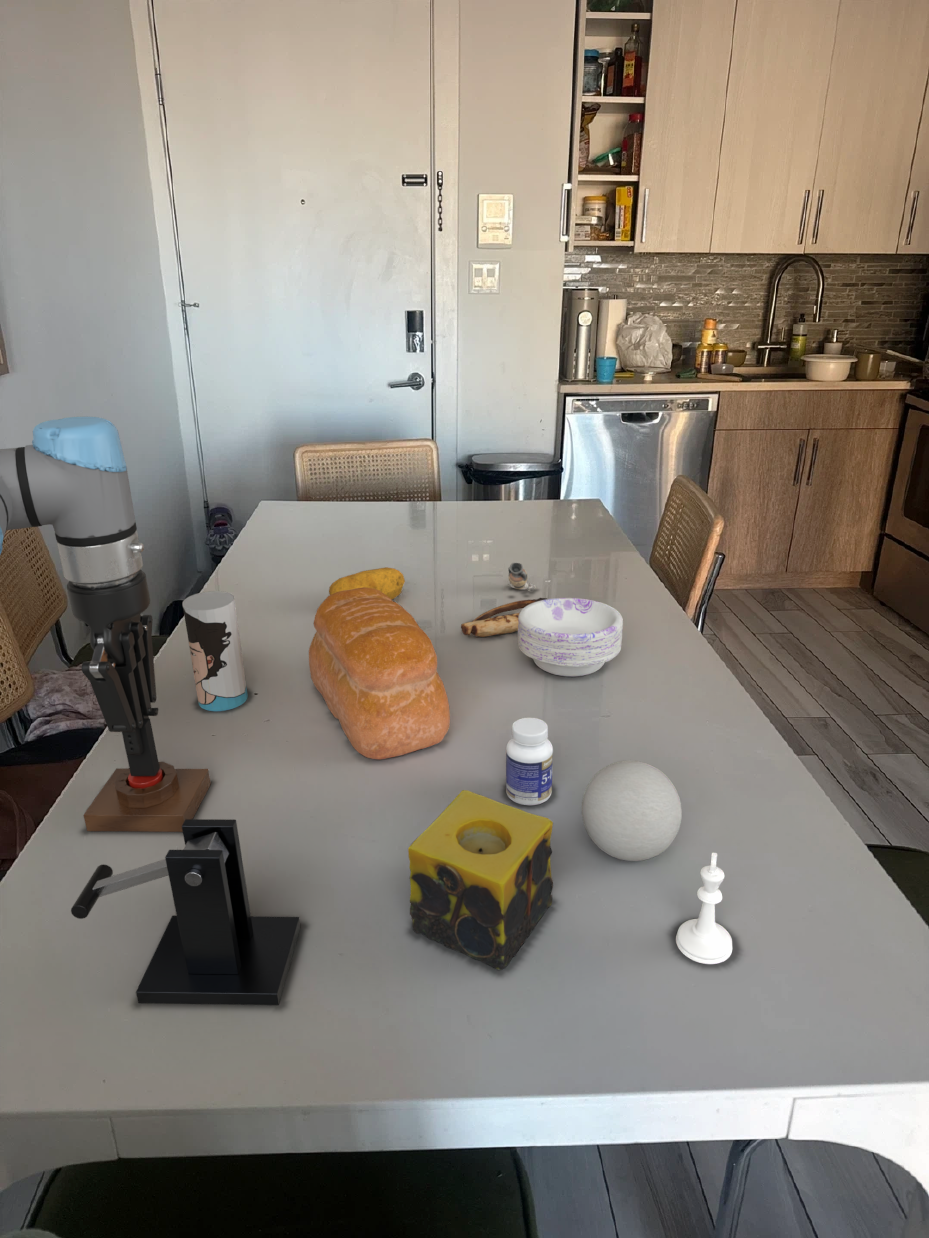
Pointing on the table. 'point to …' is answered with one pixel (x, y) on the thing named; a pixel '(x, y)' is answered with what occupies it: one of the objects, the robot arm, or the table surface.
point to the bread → (378, 674)
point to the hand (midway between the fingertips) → (145, 772)
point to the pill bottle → (529, 762)
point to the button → (145, 780)
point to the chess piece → (706, 923)
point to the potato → (372, 581)
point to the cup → (215, 650)
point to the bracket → (217, 931)
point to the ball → (631, 810)
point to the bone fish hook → (496, 620)
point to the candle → (481, 878)
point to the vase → (518, 577)
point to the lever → (134, 875)
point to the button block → (148, 801)
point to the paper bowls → (570, 635)
